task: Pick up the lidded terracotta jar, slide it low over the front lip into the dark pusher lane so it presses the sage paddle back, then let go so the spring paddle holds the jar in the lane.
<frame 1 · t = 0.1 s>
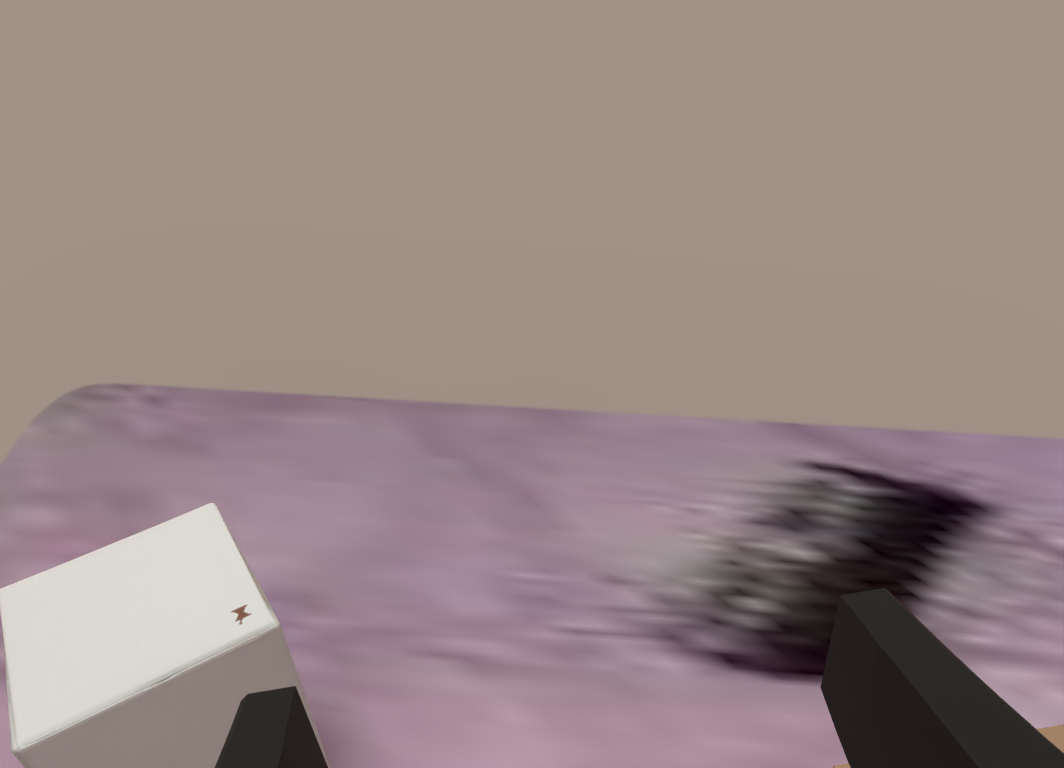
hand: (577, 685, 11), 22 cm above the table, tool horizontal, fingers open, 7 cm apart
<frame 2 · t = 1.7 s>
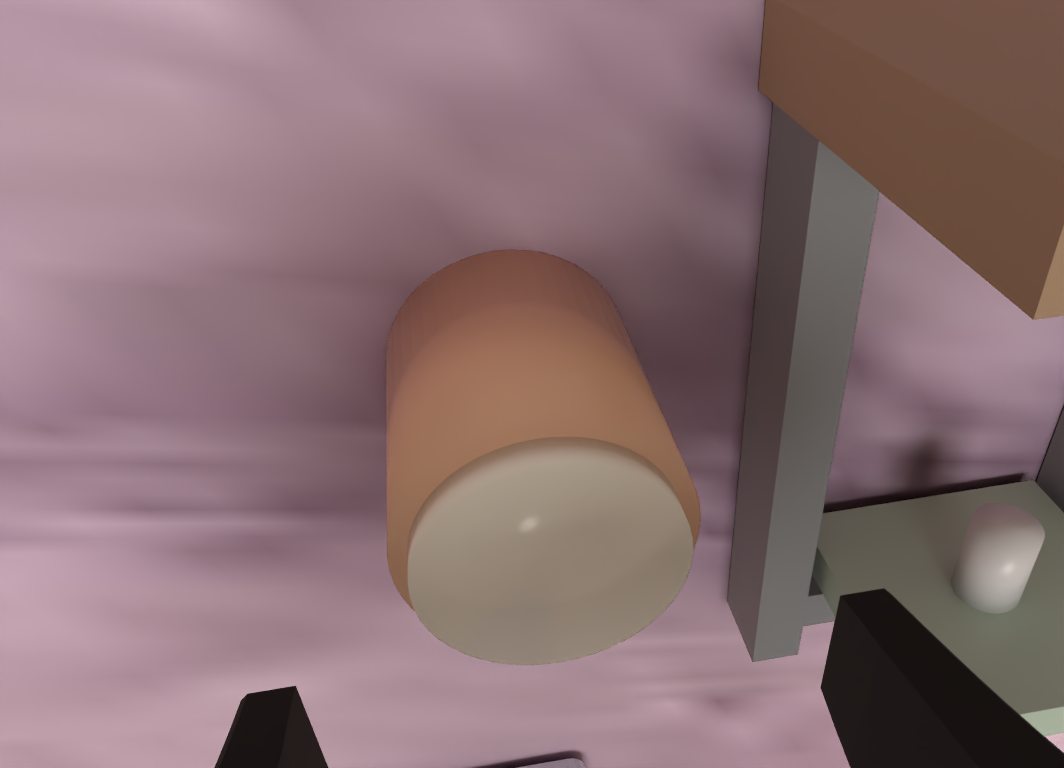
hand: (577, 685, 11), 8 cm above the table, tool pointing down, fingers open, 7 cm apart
pusher lane: (943, 369, 20), on the table
terracotta jar: (506, 357, 18), on the table
pusher paddle: (990, 573, 19), point 3 cm above the table, slide at 0.0 cm
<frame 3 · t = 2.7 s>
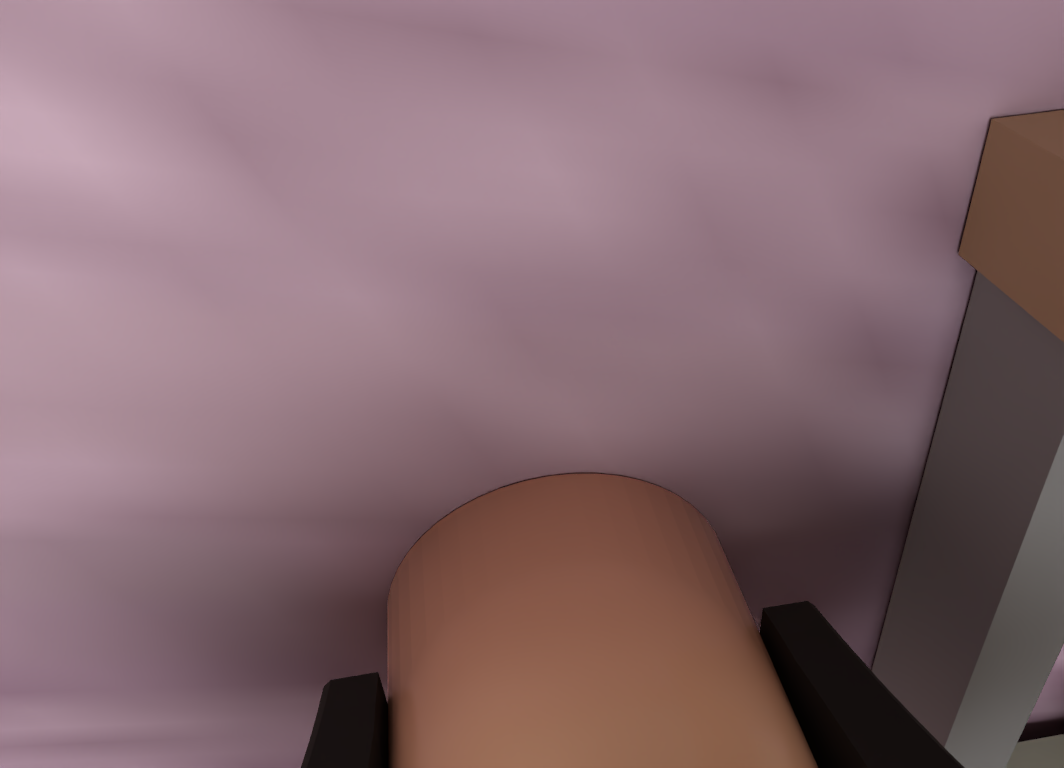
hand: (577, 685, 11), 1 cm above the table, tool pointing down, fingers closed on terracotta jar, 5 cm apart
terracotta jar: (559, 602, 13), on the table, touching gripper
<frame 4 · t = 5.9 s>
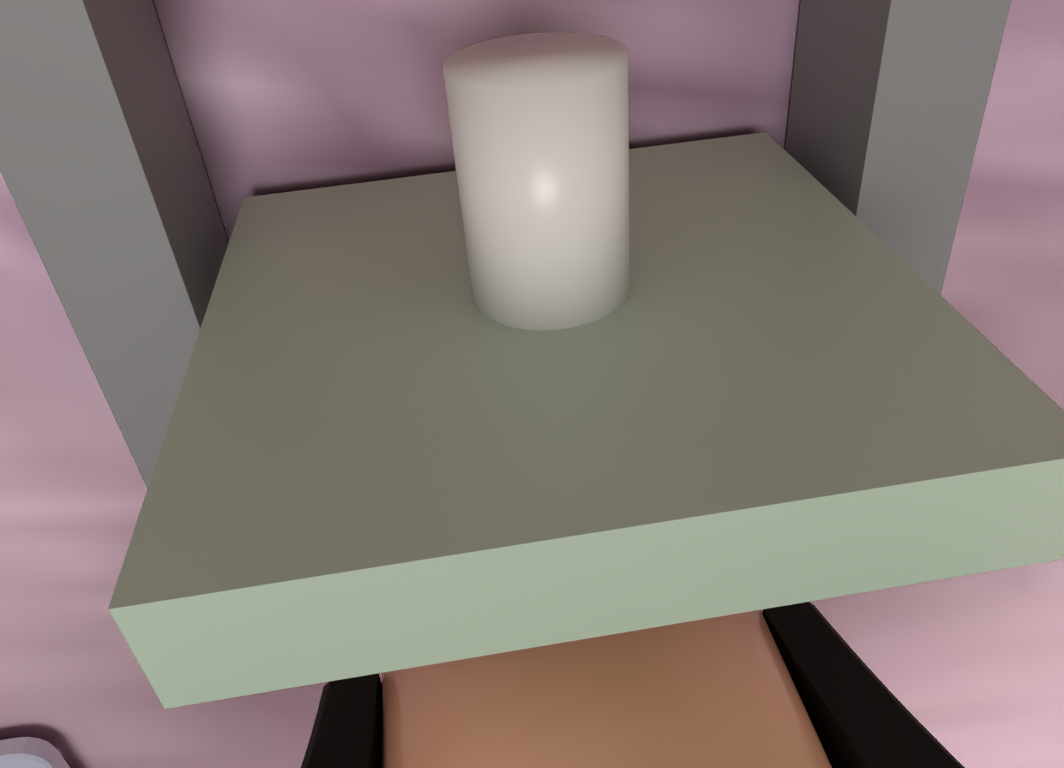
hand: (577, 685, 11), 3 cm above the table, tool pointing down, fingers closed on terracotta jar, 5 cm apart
terracotta jar: (555, 575, 12), point 2 cm above the table, touching gripper
pusher paddle: (547, 237, 7), point 3 cm above the table, slide at 0.0 cm
when the fingers open (3 cm above the table, at t = 9.4 s): terracotta jar moves 1 cm, resting on pusher lane, pusher paddle.
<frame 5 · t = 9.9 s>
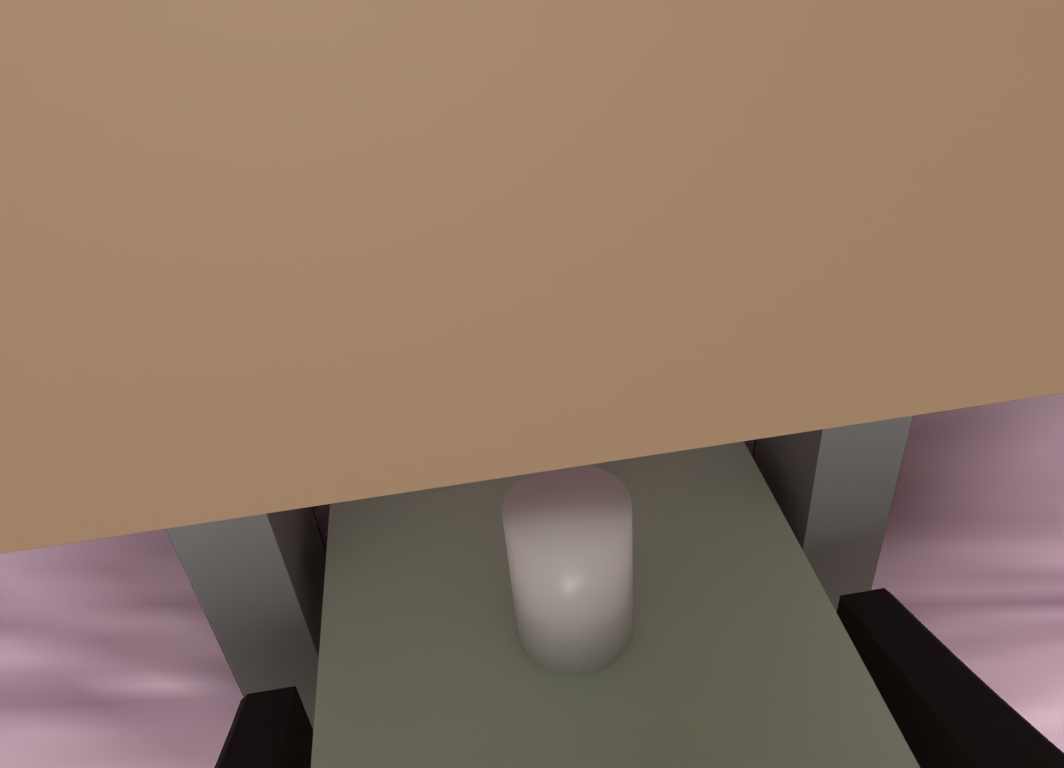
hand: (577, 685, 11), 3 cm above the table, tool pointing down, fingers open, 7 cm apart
pusher lane: (536, 461, 13), on the table
pusher paddle: (573, 597, 10), point 3 cm above the table, slide at 4.0 cm, touching terracotta jar
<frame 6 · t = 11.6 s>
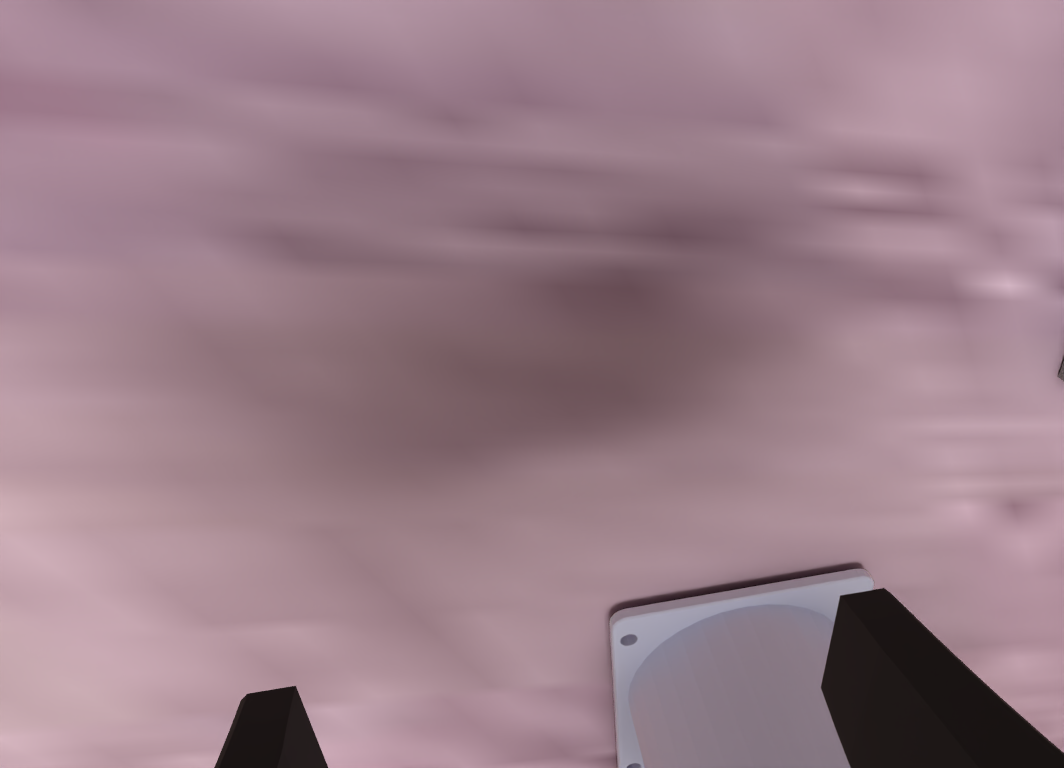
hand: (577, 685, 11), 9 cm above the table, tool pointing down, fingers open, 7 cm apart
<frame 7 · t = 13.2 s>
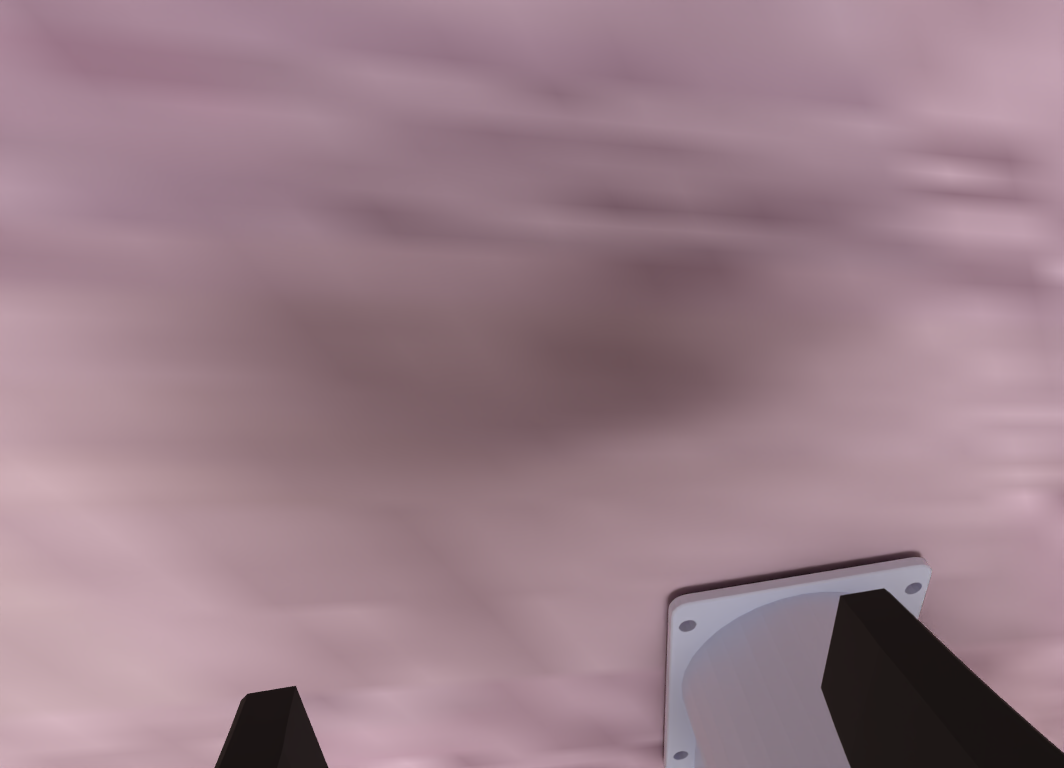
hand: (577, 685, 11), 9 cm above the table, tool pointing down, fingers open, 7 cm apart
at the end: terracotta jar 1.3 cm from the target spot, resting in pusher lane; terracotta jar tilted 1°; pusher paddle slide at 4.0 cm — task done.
